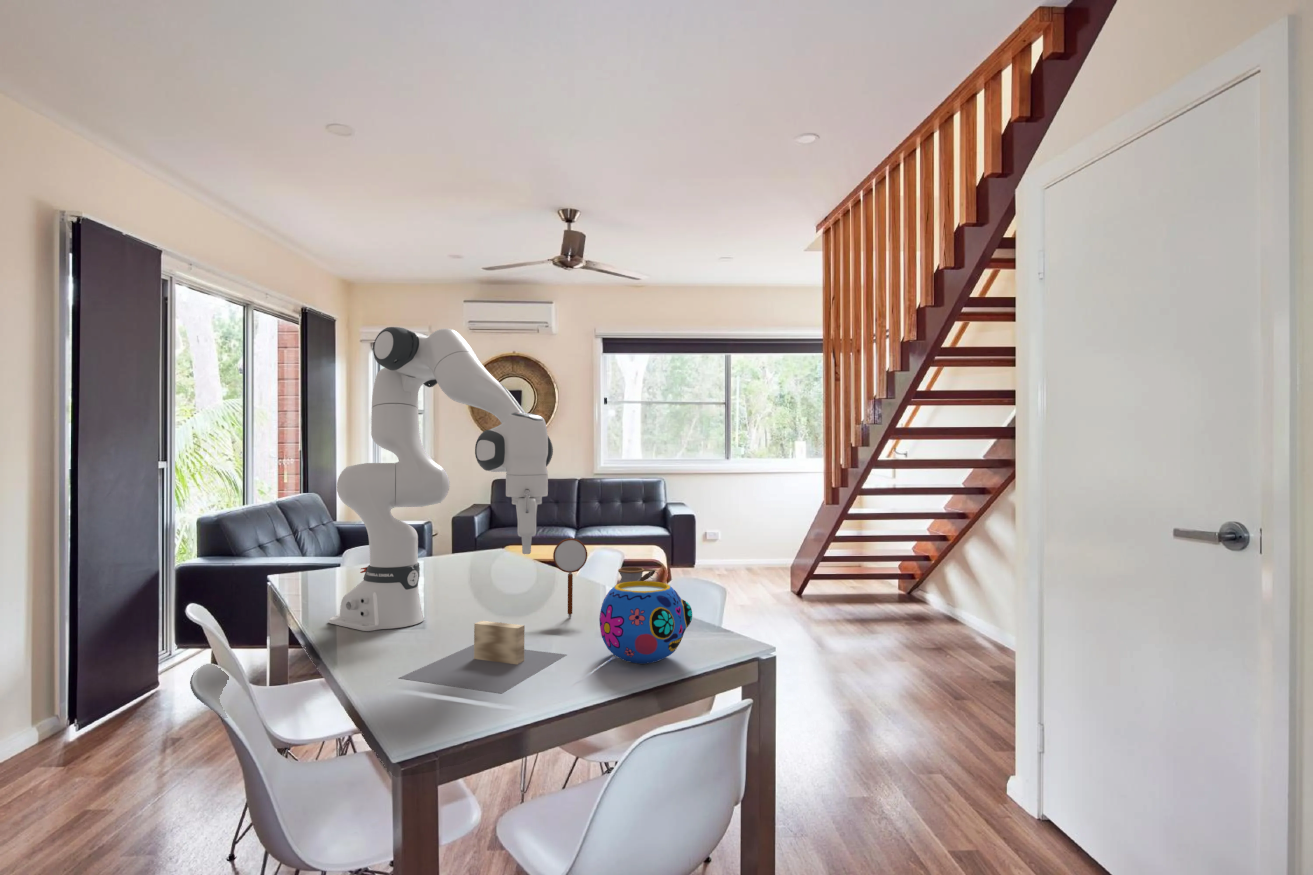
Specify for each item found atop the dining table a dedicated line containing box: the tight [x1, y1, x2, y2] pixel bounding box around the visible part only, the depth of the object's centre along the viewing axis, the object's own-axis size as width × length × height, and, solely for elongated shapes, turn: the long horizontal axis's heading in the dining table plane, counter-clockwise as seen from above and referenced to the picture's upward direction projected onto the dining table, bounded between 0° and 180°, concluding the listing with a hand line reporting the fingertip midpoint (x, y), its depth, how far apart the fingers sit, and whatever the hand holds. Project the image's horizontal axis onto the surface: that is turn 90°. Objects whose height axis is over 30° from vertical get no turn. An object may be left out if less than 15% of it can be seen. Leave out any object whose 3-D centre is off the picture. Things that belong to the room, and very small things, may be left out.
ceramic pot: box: [598, 580, 693, 665], centre depth 139 cm, size 18×18×15 cm
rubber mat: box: [398, 644, 567, 694], centre depth 133 cm, size 22×24×1 cm
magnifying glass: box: [552, 537, 588, 618], centre depth 174 cm, size 9×2×20 cm, turn 102°
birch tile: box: [473, 620, 525, 664], centre depth 137 cm, size 10×3×7 cm, turn 70°
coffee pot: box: [617, 566, 660, 584], centre depth 166 cm, size 21×12×15 cm, turn 22°
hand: (526, 553), depth 146 cm, fingers closed
